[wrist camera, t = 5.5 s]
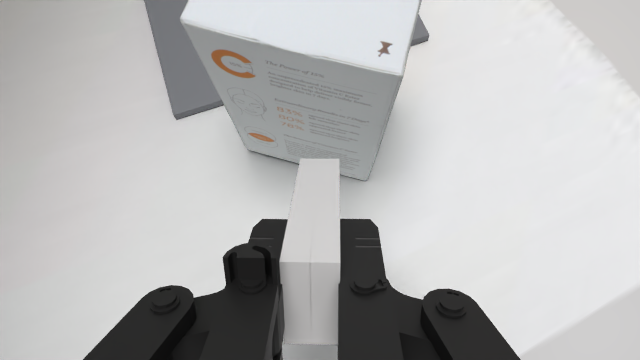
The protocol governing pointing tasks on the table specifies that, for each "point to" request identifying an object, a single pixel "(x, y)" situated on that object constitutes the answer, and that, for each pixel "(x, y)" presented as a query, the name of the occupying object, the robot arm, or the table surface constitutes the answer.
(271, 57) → the small box
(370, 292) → the robot arm
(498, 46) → the table surface
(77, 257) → the table surface
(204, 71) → the grey rubber mat
